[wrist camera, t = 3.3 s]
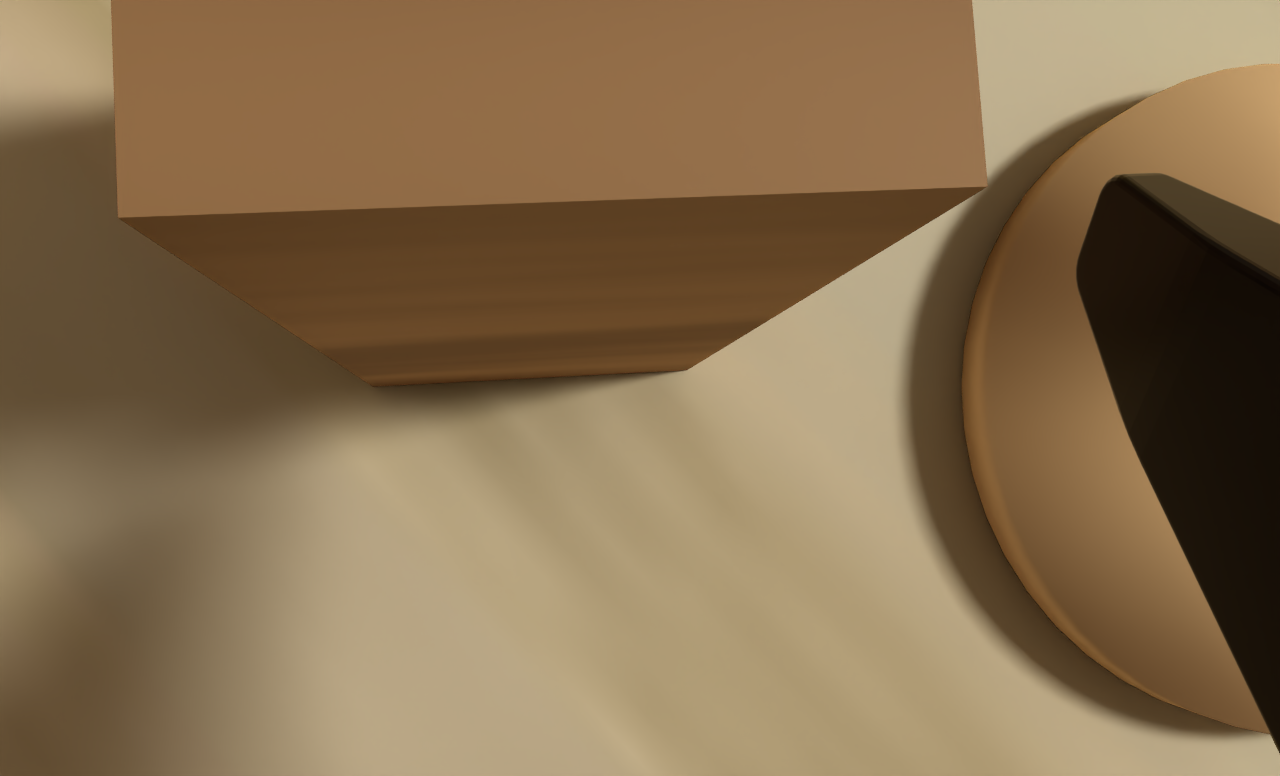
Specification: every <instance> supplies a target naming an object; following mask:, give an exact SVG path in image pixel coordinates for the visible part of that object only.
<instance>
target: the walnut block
mask: <svg viewBox="0 0 1280 776" xmlns="http://www.w3.org/2000/svg"><path fill="white" fill-rule="evenodd" d="M111 14H112V46H113V77H114V109H115V141H116V172H117V204H118V218H119V219H121V220H122V221H124V222H125V223H127V224H128V225H130V226H131V227H133V228H134V229H136V230H137V231H139V232H140V233H142V234H143V235H145V236H146V237H148V238H149V239H151V240H152V241H154V242H155V243H157V244H158V245H160V246H161V247H163V248H164V249H166V250H167V251H169V252H170V253H172V254H174V255H175V256H177V257H178V258H180V259H181V260H183V261H184V262H186V263H187V264H189V265H190V266H192V267H193V268H195V269H196V270H198V271H199V272H201V273H202V274H204V275H205V276H207V277H208V278H210V279H211V280H213V281H214V282H216V283H217V284H219V285H220V286H222V287H223V288H225V289H226V290H228V291H229V292H231V293H232V294H234V295H235V296H237V297H238V298H240V299H241V300H243V301H244V302H246V303H247V304H249V305H250V306H252V307H253V308H255V309H256V310H258V311H259V312H261V313H262V314H264V315H266V316H267V317H269V318H270V319H272V320H273V321H275V322H276V323H278V324H279V325H281V326H282V327H284V328H285V329H287V330H288V331H290V332H291V333H293V334H294V335H296V336H297V337H299V338H300V339H302V340H303V341H305V342H306V343H308V344H309V345H311V346H312V347H314V348H315V349H317V350H318V351H320V352H321V353H323V354H324V355H326V356H327V357H329V358H330V359H332V360H333V361H335V362H336V363H338V364H339V365H341V366H342V367H344V368H345V369H347V370H348V371H350V372H351V373H353V374H354V375H356V376H358V377H359V378H361V379H362V380H364V381H365V382H367V383H368V384H370V385H371V386H373V387H378V386H396V385H415V384H434V383H453V382H472V381H491V380H510V379H528V378H547V377H566V376H585V375H604V374H623V373H641V372H660V371H679V370H688V369H690V368H691V367H693V366H694V365H696V364H698V363H699V362H701V361H703V360H704V359H706V358H708V357H709V356H711V355H712V354H714V353H716V352H717V351H719V350H721V349H722V348H724V347H726V346H727V345H729V344H730V343H732V342H734V341H735V340H737V339H739V338H740V337H742V336H744V335H745V334H747V333H749V332H750V331H752V330H753V329H755V328H757V327H758V326H760V325H762V324H763V323H765V322H767V321H768V320H770V319H771V318H773V317H775V316H776V315H778V314H780V313H781V312H783V311H785V310H786V309H788V308H789V307H791V306H793V305H794V304H796V303H798V302H799V301H801V300H803V299H804V298H806V297H807V296H809V295H811V294H812V293H814V292H816V291H817V290H819V289H821V288H822V287H824V286H825V285H827V284H829V283H830V282H832V281H834V280H835V279H837V278H839V277H840V276H842V275H844V274H845V273H847V272H848V271H850V270H852V269H853V268H855V267H857V266H858V265H860V264H862V263H863V262H865V261H866V260H868V259H870V258H871V257H873V256H875V255H876V254H878V253H880V252H881V251H883V250H884V249H886V248H888V247H889V246H891V245H893V244H894V243H896V242H898V241H899V240H901V239H902V238H904V237H906V236H907V235H909V234H911V233H912V232H914V231H916V230H917V229H919V228H920V227H922V226H924V225H925V224H927V223H929V222H930V221H932V220H934V219H935V218H937V217H939V216H940V215H942V214H943V213H945V212H947V211H948V210H950V209H952V208H953V207H955V206H957V205H958V204H960V203H961V202H963V201H965V200H966V199H968V198H970V197H971V196H973V195H975V194H976V193H978V192H979V191H981V190H983V189H984V188H986V187H988V185H987V173H986V161H985V149H984V138H983V126H982V114H981V102H980V90H979V79H978V67H977V55H976V43H975V31H974V20H973V8H972V0H111Z"/></svg>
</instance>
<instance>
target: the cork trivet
mask: <svg viewBox="0 0 1280 776" xmlns="http://www.w3.org/2000/svg"><path fill="white" fill-rule="evenodd" d="M1135 173H1162V174H1166V175H1169V176H1171V177H1173V178H1175V179H1178V180H1180V181H1182V182H1185V183H1187V184H1189V185H1192V186H1194V187H1196V188H1198V189H1201V190H1203V191H1205V192H1208V193H1210V194H1212V195H1215V196H1217V197H1219V198H1221V199H1224V200H1226V201H1228V202H1231V203H1233V204H1235V205H1238V206H1240V207H1242V208H1244V209H1247V210H1249V211H1251V212H1254V213H1256V214H1258V215H1261V216H1263V217H1265V218H1267V219H1270V220H1272V221H1274V222H1277V223H1279V224H1280V64H1261V65H1254V66H1246V67H1239V68H1232V69H1225V70H1221V71H1217V72H1214V73H1210V74H1207V75H1203V76H1200V77H1196V78H1193V79H1190V80H1186V81H1183V82H1181V83H1179V84H1177V85H1174V86H1172V87H1170V88H1168V89H1166V90H1163V91H1161V92H1159V93H1157V94H1154V95H1152V96H1150V97H1148V98H1146V99H1144V100H1143V101H1141V102H1139V103H1138V104H1136V105H1134V106H1133V107H1131V108H1129V109H1128V110H1126V111H1124V112H1123V113H1121V114H1119V115H1118V116H1116V117H1114V118H1113V119H1111V120H1110V121H1108V122H1106V123H1105V124H1103V125H1102V126H1100V127H1098V128H1097V129H1095V130H1094V131H1092V132H1091V133H1089V134H1087V135H1086V136H1084V137H1083V138H1082V139H1080V140H1079V141H1078V142H1077V143H1076V144H1075V145H1073V146H1072V147H1071V148H1070V149H1069V150H1067V151H1066V152H1065V153H1064V154H1063V155H1062V156H1060V157H1059V158H1058V159H1057V160H1056V161H1054V162H1053V163H1052V165H1051V166H1050V167H1049V168H1048V169H1047V170H1046V171H1045V172H1044V173H1043V175H1042V176H1041V177H1040V178H1039V179H1038V180H1037V181H1036V182H1035V184H1034V185H1033V186H1032V187H1031V188H1030V189H1029V190H1028V191H1027V193H1026V194H1025V196H1024V197H1023V199H1022V200H1021V201H1020V203H1019V204H1018V206H1017V207H1016V209H1015V210H1014V212H1013V213H1012V215H1011V216H1010V218H1009V219H1008V221H1007V222H1006V224H1005V225H1004V227H1003V229H1002V231H1001V233H1000V235H999V237H998V239H997V241H996V243H995V245H994V247H993V249H992V251H991V254H990V256H989V258H988V260H987V262H986V264H985V267H984V270H983V273H982V276H981V279H980V282H979V285H978V288H977V291H976V294H975V297H974V300H973V303H972V308H971V313H970V318H969V323H968V328H967V333H966V338H965V343H964V357H963V372H962V403H963V419H964V432H965V437H966V443H967V448H968V453H969V459H970V464H971V469H972V474H973V477H974V480H975V483H976V486H977V490H978V493H979V496H980V499H981V502H982V505H983V508H984V511H985V514H986V517H987V519H988V521H989V523H990V525H991V527H992V530H993V532H994V534H995V536H996V538H997V540H998V542H999V545H1000V547H1001V549H1002V551H1003V553H1004V555H1005V557H1006V558H1007V560H1008V562H1009V563H1010V565H1011V566H1012V568H1013V570H1014V571H1015V573H1016V574H1017V576H1018V577H1019V579H1020V581H1021V582H1022V584H1023V585H1024V587H1025V589H1026V590H1027V592H1028V593H1029V594H1030V595H1031V597H1032V598H1033V599H1034V600H1035V601H1036V603H1037V604H1038V605H1039V606H1040V608H1041V609H1042V610H1043V611H1044V612H1045V614H1046V615H1047V616H1048V617H1049V618H1050V620H1051V621H1052V622H1053V623H1054V625H1055V626H1056V627H1057V628H1059V629H1060V630H1061V631H1062V632H1063V633H1064V634H1065V635H1066V636H1067V637H1068V638H1069V639H1070V640H1071V641H1072V642H1073V643H1075V644H1076V645H1077V646H1078V647H1079V648H1080V649H1081V650H1082V651H1083V652H1084V653H1085V654H1086V655H1088V656H1089V657H1090V658H1092V659H1093V660H1095V661H1096V662H1097V663H1099V664H1100V665H1101V666H1103V667H1104V668H1106V669H1107V670H1108V671H1110V672H1111V673H1113V674H1114V675H1115V676H1117V677H1118V678H1120V679H1121V680H1123V681H1125V682H1127V683H1128V684H1130V685H1132V686H1134V687H1136V688H1138V689H1140V690H1142V691H1144V692H1145V693H1147V694H1149V695H1151V696H1153V697H1155V698H1157V699H1159V700H1161V701H1164V702H1167V703H1170V704H1172V705H1175V706H1178V707H1180V708H1183V709H1186V710H1189V711H1191V712H1194V713H1197V714H1200V715H1202V716H1205V717H1208V718H1211V719H1214V720H1217V721H1220V722H1223V723H1226V724H1229V725H1232V726H1235V727H1239V728H1244V729H1249V730H1253V731H1258V732H1262V733H1267V734H1270V732H1269V730H1268V728H1267V726H1266V724H1265V722H1264V720H1263V718H1262V716H1261V714H1260V711H1259V709H1258V707H1257V705H1256V703H1255V701H1254V699H1253V697H1252V695H1251V693H1250V691H1249V688H1248V686H1247V684H1246V682H1245V680H1244V678H1243V676H1242V674H1241V672H1240V670H1239V668H1238V666H1237V663H1236V661H1235V659H1234V657H1233V655H1232V653H1231V651H1230V649H1229V647H1228V645H1227V643H1226V640H1225V638H1224V636H1223V634H1222V632H1221V630H1220V628H1219V626H1218V624H1217V622H1216V620H1215V617H1214V615H1213V613H1212V611H1211V609H1210V607H1209V605H1208V603H1207V601H1206V599H1205V597H1204V595H1203V592H1202V590H1201V588H1200V586H1199V584H1198V582H1197V580H1196V578H1195V576H1194V574H1193V572H1192V569H1191V567H1190V565H1189V563H1188V561H1187V559H1186V557H1185V555H1184V553H1183V551H1182V549H1181V547H1180V544H1179V542H1178V540H1177V538H1176V536H1175V534H1174V532H1173V530H1172V528H1171V526H1170V524H1169V521H1168V519H1167V517H1166V515H1165V513H1164V511H1163V509H1162V507H1161V505H1160V503H1159V501H1158V498H1157V496H1156V494H1155V492H1154V490H1153V488H1152V486H1151V484H1150V482H1149V480H1148V478H1147V476H1146V473H1145V471H1144V469H1143V467H1142V465H1141V463H1140V461H1139V459H1138V456H1137V454H1136V452H1135V450H1134V447H1133V445H1132V443H1131V441H1130V438H1129V436H1128V434H1127V431H1126V428H1125V426H1124V423H1123V420H1122V418H1121V415H1120V413H1119V410H1118V407H1117V404H1116V401H1115V398H1114V395H1113V392H1112V389H1111V386H1110V383H1109V380H1108V377H1107V374H1106V372H1105V369H1104V366H1103V363H1102V360H1101V357H1100V354H1099V351H1098V348H1097V345H1096V342H1095V339H1094V336H1093V333H1092V330H1091V327H1090V324H1089V321H1088V318H1087V315H1086V313H1085V310H1084V307H1083V304H1082V301H1081V298H1080V295H1079V292H1078V288H1077V283H1076V265H1077V259H1078V255H1079V253H1080V250H1081V247H1082V244H1083V241H1084V238H1085V235H1086V232H1087V229H1088V226H1089V223H1090V220H1091V217H1092V214H1093V211H1094V209H1095V206H1096V203H1097V200H1098V197H1099V194H1100V192H1101V190H1102V188H1103V186H1104V185H1105V183H1106V182H1107V181H1108V180H1109V179H1111V178H1112V177H1114V176H1115V175H1119V174H1135Z"/></svg>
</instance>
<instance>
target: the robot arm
mask: <svg viewBox="0 0 1280 776" xmlns="http://www.w3.org/2000/svg"><path fill="white" fill-rule="evenodd" d="M1076 283H1077V288H1078V292H1079V295H1080V298H1081V301H1082V304H1083V307H1084V310H1085V313H1086V315H1087V318H1088V321H1089V324H1090V327H1091V330H1092V333H1093V336H1094V339H1095V342H1096V345H1097V348H1098V351H1099V354H1100V357H1101V360H1102V363H1103V366H1104V369H1105V372H1106V374H1107V377H1108V380H1109V383H1110V386H1111V389H1112V392H1113V395H1114V398H1115V401H1116V404H1117V407H1118V410H1119V413H1120V415H1121V418H1122V420H1123V423H1124V426H1125V428H1126V431H1127V434H1128V436H1129V438H1130V441H1131V443H1132V445H1133V447H1134V450H1135V452H1136V454H1137V456H1138V459H1139V461H1140V463H1141V465H1142V467H1143V469H1144V471H1145V473H1146V476H1147V478H1148V480H1149V482H1150V484H1151V486H1152V488H1153V490H1154V492H1155V494H1156V496H1157V498H1158V501H1159V503H1160V505H1161V507H1162V509H1163V511H1164V513H1165V515H1166V517H1167V519H1168V521H1169V524H1170V526H1171V528H1172V530H1173V532H1174V534H1175V536H1176V538H1177V540H1178V542H1179V544H1180V547H1181V549H1182V551H1183V553H1184V555H1185V557H1186V559H1187V561H1188V563H1189V565H1190V567H1191V569H1192V572H1193V574H1194V576H1195V578H1196V580H1197V582H1198V584H1199V586H1200V588H1201V590H1202V592H1203V595H1204V597H1205V599H1206V601H1207V603H1208V605H1209V607H1210V609H1211V611H1212V613H1213V615H1214V617H1215V620H1216V622H1217V624H1218V626H1219V628H1220V630H1221V632H1222V634H1223V636H1224V638H1225V640H1226V643H1227V645H1228V647H1229V649H1230V651H1231V653H1232V655H1233V657H1234V659H1235V661H1236V663H1237V666H1238V668H1239V670H1240V672H1241V674H1242V676H1243V678H1244V680H1245V682H1246V684H1247V686H1248V688H1249V691H1250V693H1251V695H1252V697H1253V699H1254V701H1255V703H1256V705H1257V707H1258V709H1259V711H1260V714H1261V716H1262V718H1263V720H1264V722H1265V724H1266V726H1267V728H1268V730H1269V732H1270V734H1271V737H1272V739H1273V741H1274V743H1275V745H1276V747H1277V749H1278V751H1279V753H1280V224H1279V223H1277V222H1274V221H1272V220H1270V219H1267V218H1265V217H1263V216H1261V215H1258V214H1256V213H1254V212H1251V211H1249V210H1247V209H1244V208H1242V207H1240V206H1238V205H1235V204H1233V203H1231V202H1228V201H1226V200H1224V199H1221V198H1219V197H1217V196H1215V195H1212V194H1210V193H1208V192H1205V191H1203V190H1201V189H1198V188H1196V187H1194V186H1192V185H1189V184H1187V183H1185V182H1182V181H1180V180H1178V179H1175V178H1173V177H1171V176H1169V175H1166V174H1162V173H1135V174H1119V175H1115V176H1114V177H1112V178H1111V179H1109V180H1108V181H1107V182H1106V183H1105V185H1104V186H1103V188H1102V190H1101V192H1100V194H1099V197H1098V200H1097V203H1096V206H1095V209H1094V211H1093V214H1092V217H1091V220H1090V223H1089V226H1088V229H1087V232H1086V235H1085V238H1084V241H1083V244H1082V247H1081V250H1080V253H1079V255H1078V259H1077V265H1076Z"/></svg>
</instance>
